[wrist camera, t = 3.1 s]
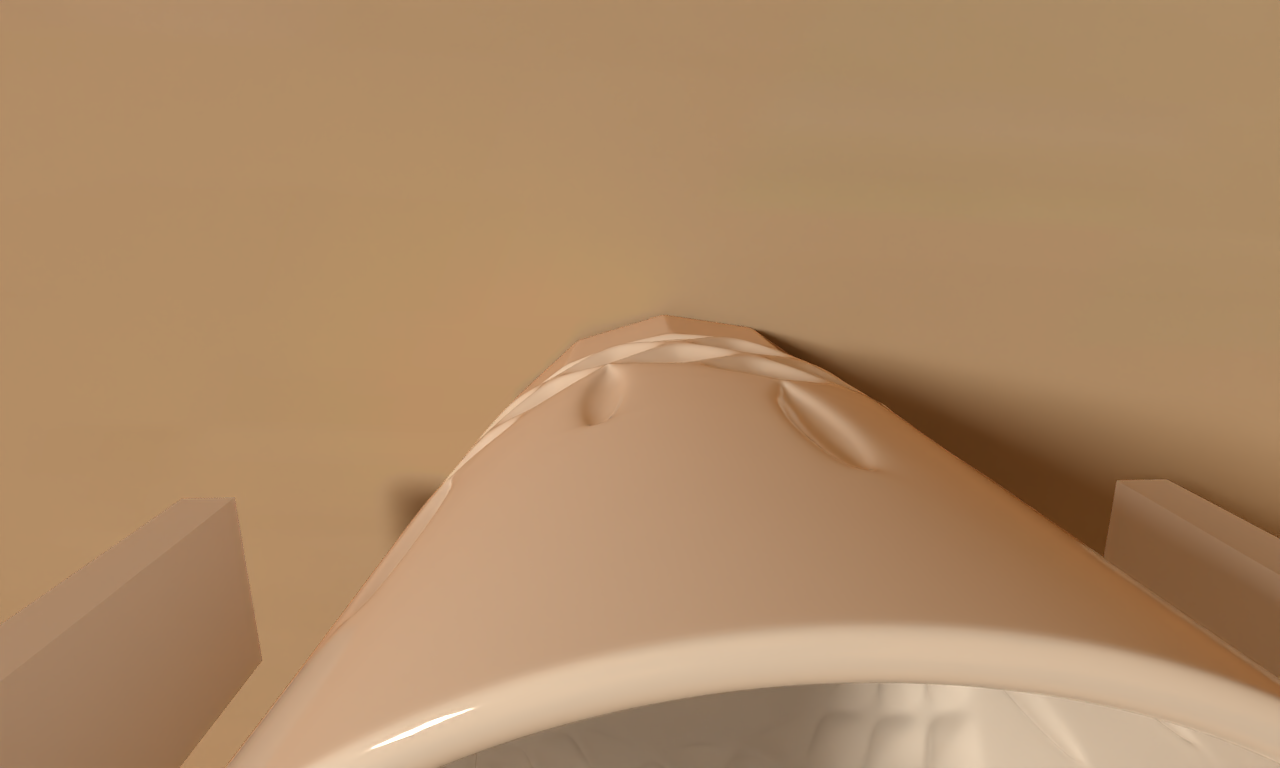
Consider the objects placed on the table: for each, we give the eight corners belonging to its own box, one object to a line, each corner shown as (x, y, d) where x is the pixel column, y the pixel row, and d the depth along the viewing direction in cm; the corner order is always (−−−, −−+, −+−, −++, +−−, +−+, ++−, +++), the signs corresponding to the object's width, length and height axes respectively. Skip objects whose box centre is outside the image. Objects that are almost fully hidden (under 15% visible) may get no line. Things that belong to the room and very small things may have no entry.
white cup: (954, 563, 14) (1740, 1461, 4) (598, 739, 15) (547, 1812, 5) (766, 191, 12) (1395, 215, 2) (371, 420, 13) (-428, 1156, 3)
